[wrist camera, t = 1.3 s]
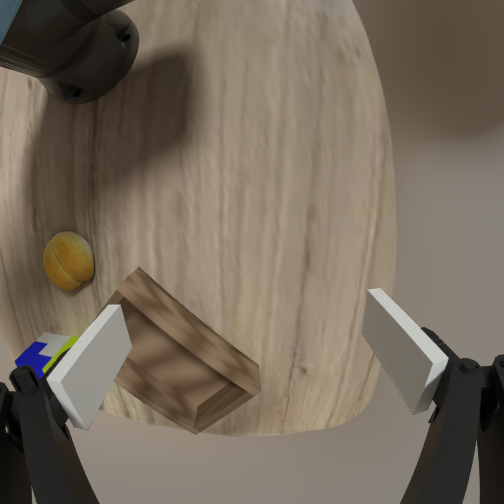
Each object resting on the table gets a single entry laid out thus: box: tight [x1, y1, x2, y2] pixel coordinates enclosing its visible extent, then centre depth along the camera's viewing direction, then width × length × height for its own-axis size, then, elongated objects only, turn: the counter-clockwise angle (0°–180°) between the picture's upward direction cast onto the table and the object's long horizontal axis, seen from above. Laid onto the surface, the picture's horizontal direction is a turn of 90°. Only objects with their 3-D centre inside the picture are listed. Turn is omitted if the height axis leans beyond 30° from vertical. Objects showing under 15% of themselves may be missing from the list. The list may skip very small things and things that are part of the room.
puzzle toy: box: [15, 332, 80, 380], centre depth 36 cm, size 10×10×10 cm
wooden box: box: [93, 267, 261, 434], centre depth 37 cm, size 22×14×6 cm, turn 46°
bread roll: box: [43, 231, 94, 291], centre depth 34 cm, size 8×9×4 cm
